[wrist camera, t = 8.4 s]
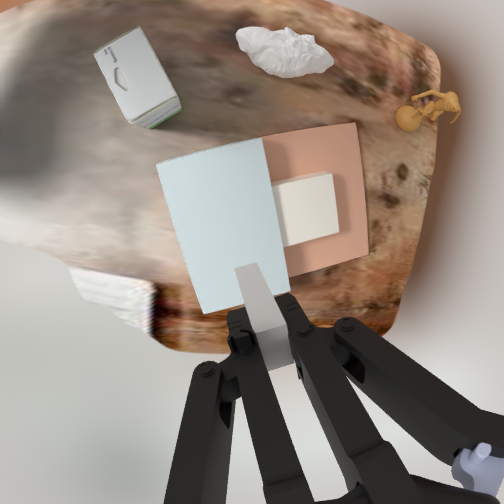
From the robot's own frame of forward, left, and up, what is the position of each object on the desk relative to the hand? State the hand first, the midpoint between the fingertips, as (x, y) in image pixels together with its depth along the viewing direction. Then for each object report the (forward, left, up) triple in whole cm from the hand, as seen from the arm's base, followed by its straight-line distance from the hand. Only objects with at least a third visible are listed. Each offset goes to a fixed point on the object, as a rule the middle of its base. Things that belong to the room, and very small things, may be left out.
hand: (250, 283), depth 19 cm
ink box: (-17, -5, -20) cm, 27 cm away
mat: (+2, +13, -20) cm, 24 cm away
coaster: (+2, +10, -19) cm, 22 cm away
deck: (+2, 0, -20) cm, 20 cm away
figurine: (-9, +29, -20) cm, 36 cm away
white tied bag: (-18, +11, -20) cm, 29 cm away
